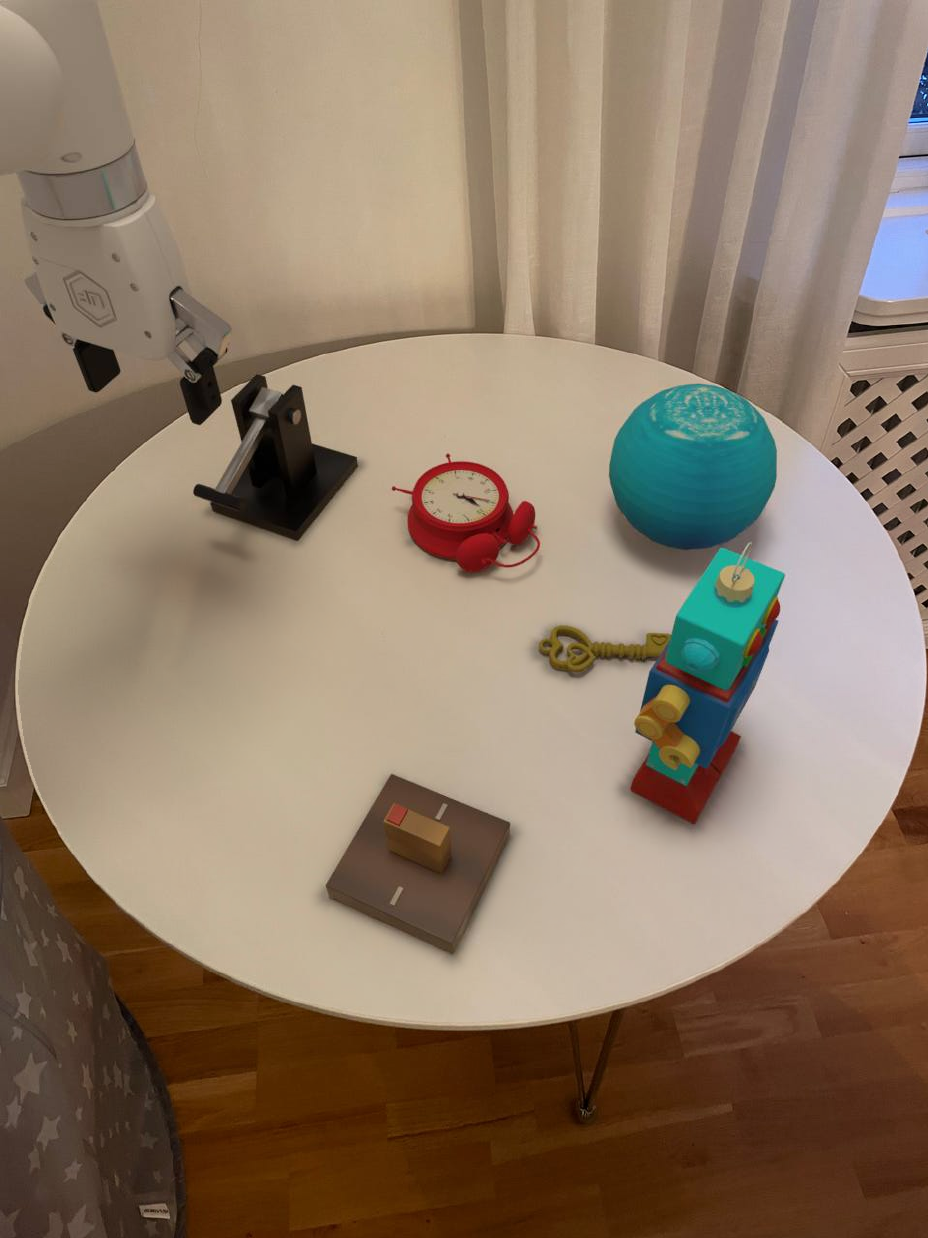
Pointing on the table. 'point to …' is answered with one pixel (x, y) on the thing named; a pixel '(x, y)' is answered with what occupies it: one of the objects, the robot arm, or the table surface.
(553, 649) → the key
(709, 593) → the toy robot
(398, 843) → the thumbturn
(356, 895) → the plate
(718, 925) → the table surface
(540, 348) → the table surface
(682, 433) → the decorative orb
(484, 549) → the alarm clock
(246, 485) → the black handle mount
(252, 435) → the door lever
